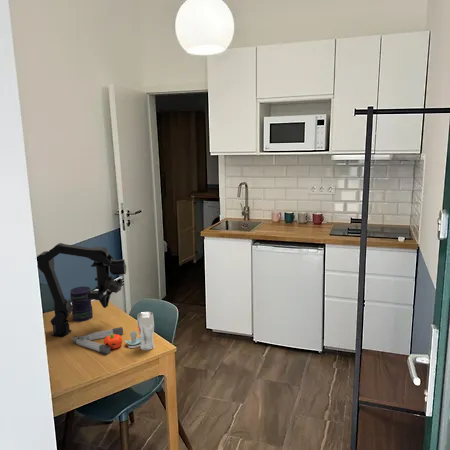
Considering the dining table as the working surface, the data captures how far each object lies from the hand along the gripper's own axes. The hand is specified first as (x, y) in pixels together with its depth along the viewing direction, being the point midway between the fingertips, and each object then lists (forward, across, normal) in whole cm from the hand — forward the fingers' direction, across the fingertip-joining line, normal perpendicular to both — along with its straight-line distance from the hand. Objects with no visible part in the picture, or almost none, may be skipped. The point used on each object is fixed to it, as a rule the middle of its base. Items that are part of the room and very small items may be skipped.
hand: (105, 307), depth 192 cm
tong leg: (+12, -6, -1) cm, 14 cm away
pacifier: (+12, -9, -19) cm, 24 cm away
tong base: (+12, -16, -2) cm, 20 cm away
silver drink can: (+12, -10, -25) cm, 30 cm away
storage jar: (+12, +10, +21) cm, 26 cm away
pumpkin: (+12, -13, -11) cm, 21 cm away
